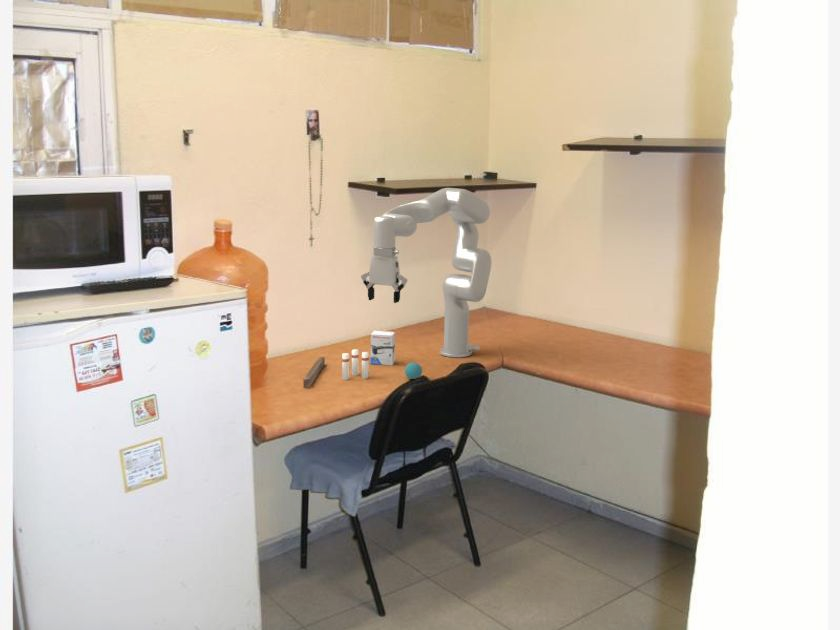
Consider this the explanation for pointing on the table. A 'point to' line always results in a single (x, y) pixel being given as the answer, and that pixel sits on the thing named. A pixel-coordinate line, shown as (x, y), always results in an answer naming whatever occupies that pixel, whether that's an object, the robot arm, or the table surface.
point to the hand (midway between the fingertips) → (383, 300)
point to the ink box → (382, 348)
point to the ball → (413, 370)
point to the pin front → (365, 365)
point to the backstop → (313, 372)
